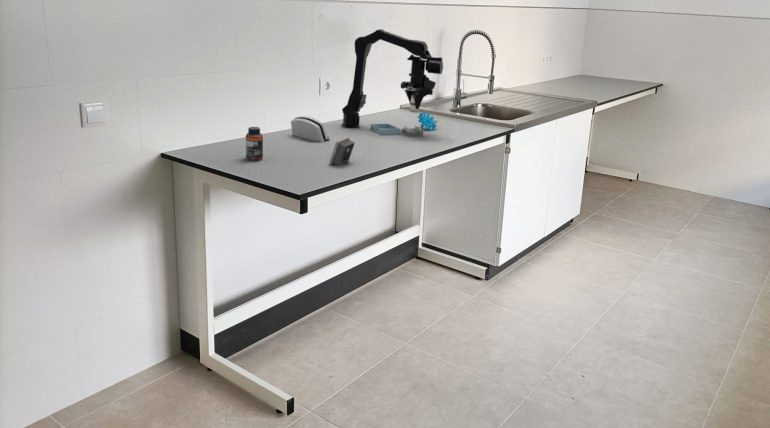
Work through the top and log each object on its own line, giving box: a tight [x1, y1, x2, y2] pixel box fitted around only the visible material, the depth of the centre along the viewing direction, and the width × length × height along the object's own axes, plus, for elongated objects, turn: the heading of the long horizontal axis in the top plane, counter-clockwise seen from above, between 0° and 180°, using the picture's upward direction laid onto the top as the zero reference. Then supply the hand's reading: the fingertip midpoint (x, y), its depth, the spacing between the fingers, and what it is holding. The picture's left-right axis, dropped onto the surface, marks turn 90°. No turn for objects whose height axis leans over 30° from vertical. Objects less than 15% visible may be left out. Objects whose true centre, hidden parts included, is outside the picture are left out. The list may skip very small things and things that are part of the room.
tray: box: [370, 123, 401, 136], centre depth 292 cm, size 9×11×2 cm
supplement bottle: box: [245, 126, 264, 162], centre depth 233 cm, size 6×6×11 cm
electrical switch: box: [329, 136, 356, 167], centre depth 236 cm, size 9×5×9 cm, turn 158°
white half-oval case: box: [290, 115, 331, 143], centre depth 270 cm, size 17×5×10 cm, turn 54°
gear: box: [417, 111, 438, 132], centre depth 304 cm, size 11×6×10 cm
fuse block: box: [401, 125, 424, 138], centre depth 290 cm, size 7×7×3 cm
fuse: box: [409, 95, 420, 113], centre depth 286 cm, size 4×4×7 cm
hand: (414, 108), depth 287 cm, fingers closed on fuse, 4 cm apart
